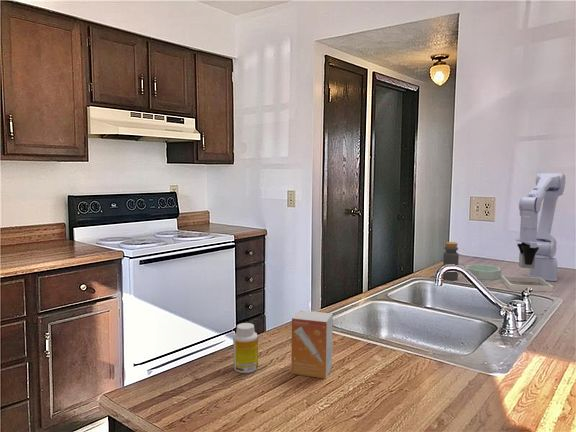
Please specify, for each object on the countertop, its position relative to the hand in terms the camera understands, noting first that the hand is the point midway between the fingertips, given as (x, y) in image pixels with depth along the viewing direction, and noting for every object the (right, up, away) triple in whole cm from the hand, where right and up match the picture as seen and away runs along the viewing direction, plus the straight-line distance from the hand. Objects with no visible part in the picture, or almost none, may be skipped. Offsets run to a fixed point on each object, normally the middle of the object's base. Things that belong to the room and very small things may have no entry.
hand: (526, 263), depth 179 cm
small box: (-86, -17, -73) cm, 115 cm away
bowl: (-10, -7, +17) cm, 21 cm away
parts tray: (0, -9, +1) cm, 9 cm away
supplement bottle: (-101, -17, -72) cm, 126 cm away
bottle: (-25, -8, +12) cm, 29 cm away
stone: (0, -1, 0) cm, 1 cm away
